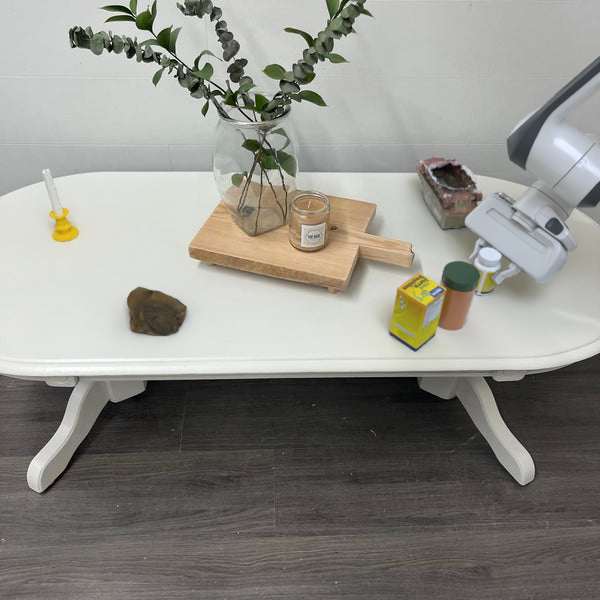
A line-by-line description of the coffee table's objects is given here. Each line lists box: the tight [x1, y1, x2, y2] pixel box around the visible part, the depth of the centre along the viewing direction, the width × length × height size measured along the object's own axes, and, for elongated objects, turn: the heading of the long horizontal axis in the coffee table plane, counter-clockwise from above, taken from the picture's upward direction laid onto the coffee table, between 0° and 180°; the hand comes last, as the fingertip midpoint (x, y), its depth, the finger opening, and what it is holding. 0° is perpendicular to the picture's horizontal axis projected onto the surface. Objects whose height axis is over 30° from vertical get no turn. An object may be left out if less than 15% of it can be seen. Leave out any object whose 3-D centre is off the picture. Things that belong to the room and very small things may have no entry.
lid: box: [441, 260, 480, 291], centre depth 97 cm, size 6×6×2 cm
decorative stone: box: [126, 286, 188, 337], centre depth 101 cm, size 10×9×4 cm
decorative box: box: [415, 156, 484, 230], centre depth 127 cm, size 13×20×10 cm, turn 5°
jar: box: [437, 277, 477, 331], centre depth 100 cm, size 6×6×10 cm
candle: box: [41, 168, 80, 243], centre depth 114 cm, size 5×5×16 cm
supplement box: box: [389, 272, 446, 352], centre depth 97 cm, size 6×6×11 cm
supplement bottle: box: [472, 246, 502, 297], centre depth 107 cm, size 5×5×8 cm
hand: (482, 271), depth 107 cm, fingers closed on supplement bottle, 5 cm apart
